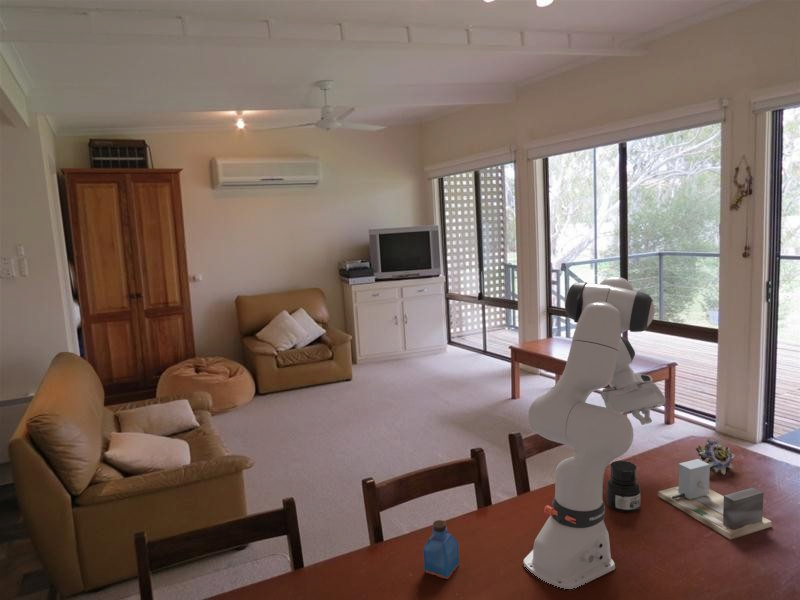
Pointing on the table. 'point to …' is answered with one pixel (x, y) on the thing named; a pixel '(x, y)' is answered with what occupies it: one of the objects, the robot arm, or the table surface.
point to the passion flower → (716, 456)
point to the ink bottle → (623, 487)
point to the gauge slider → (693, 479)
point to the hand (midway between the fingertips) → (647, 423)
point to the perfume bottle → (441, 551)
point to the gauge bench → (718, 501)
